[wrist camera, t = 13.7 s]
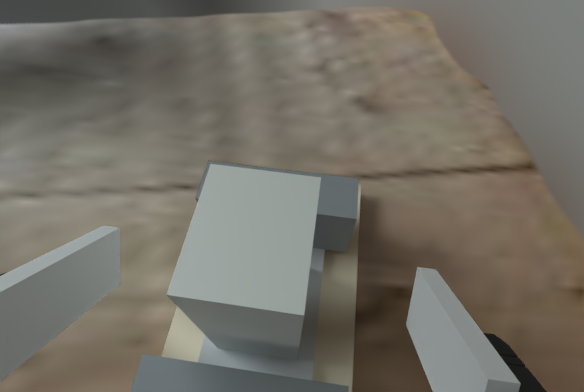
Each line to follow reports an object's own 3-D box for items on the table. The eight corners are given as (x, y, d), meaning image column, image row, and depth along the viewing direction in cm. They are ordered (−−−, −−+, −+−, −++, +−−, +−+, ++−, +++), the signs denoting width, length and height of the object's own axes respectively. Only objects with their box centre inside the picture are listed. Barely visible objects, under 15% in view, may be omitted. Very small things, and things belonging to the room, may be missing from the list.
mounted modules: (220, 200, 28) (208, 160, 24) (347, 216, 27) (358, 178, 23) (154, 425, 20) (118, 426, 16) (332, 455, 19) (344, 465, 15)
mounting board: (222, 177, 32) (218, 163, 30) (357, 194, 31) (362, 180, 29) (127, 495, 20) (111, 503, 18) (341, 535, 19) (347, 547, 17)
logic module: (238, 258, 25) (210, 163, 16) (308, 268, 25) (321, 177, 16) (217, 347, 22) (166, 294, 13) (296, 360, 22) (303, 315, 12)
